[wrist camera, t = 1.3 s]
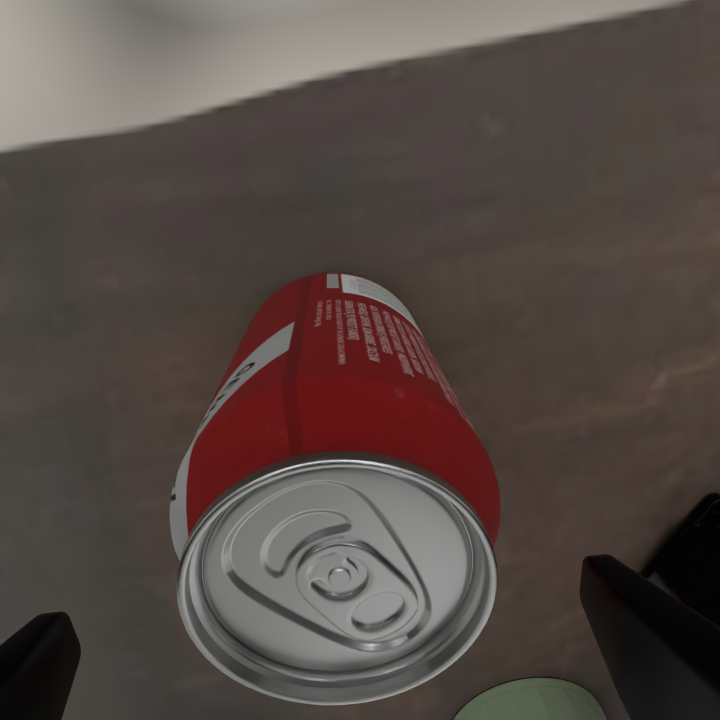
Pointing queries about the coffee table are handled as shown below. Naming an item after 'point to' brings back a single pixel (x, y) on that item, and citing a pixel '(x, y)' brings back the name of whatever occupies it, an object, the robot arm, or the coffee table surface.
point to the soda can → (334, 504)
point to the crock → (533, 702)
